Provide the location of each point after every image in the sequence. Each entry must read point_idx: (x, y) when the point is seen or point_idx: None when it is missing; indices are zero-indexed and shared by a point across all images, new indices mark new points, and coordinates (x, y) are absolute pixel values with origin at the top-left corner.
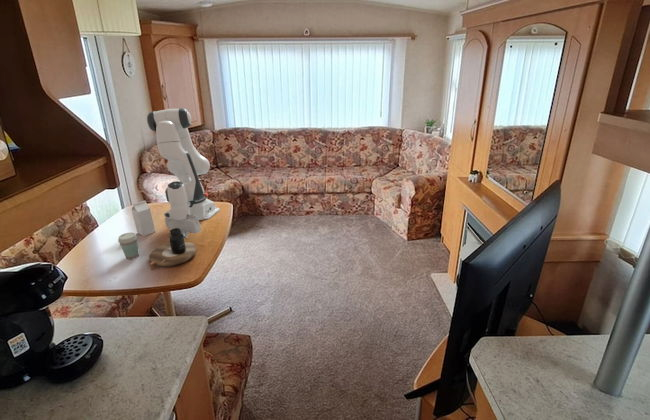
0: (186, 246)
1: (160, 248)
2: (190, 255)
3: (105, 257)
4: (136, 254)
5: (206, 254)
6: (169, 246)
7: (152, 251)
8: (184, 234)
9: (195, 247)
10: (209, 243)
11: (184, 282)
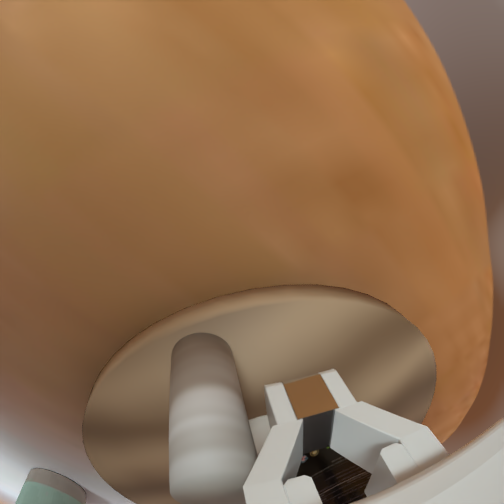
0: None
1: (135, 476)
2: (430, 402)
3: (4, 489)
4: (80, 502)
5: (458, 277)
6: (163, 445)
7: (136, 500)
8: (301, 437)
9: (418, 330)
10: (387, 111)
11: (443, 441)
